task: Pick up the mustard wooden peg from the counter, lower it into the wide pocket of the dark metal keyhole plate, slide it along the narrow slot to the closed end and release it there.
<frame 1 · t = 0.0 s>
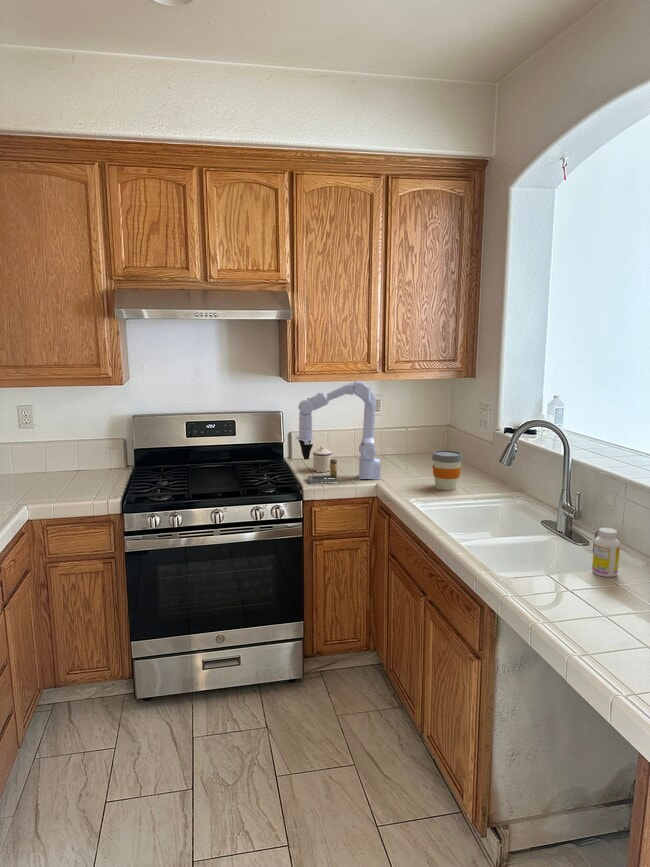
hand: (305, 457, 273), 10 cm above the countertop, tool pointing down, fingers open, 7 cm apart
supplement bottle: (604, 573, 174), on the countertop
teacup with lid: (321, 470, 293), on the countertop
keyhole plate: (323, 481, 272), on the countertop
reusable coffee cup: (445, 487, 263), on the countertop
peg: (333, 477, 279), on the countertop
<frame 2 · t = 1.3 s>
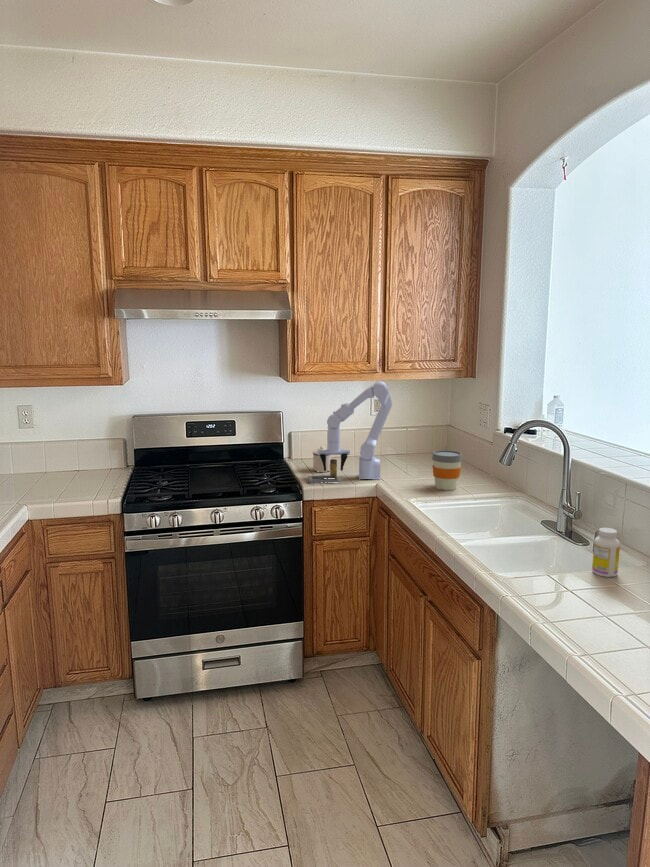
hand: (333, 470, 279), 3 cm above the countertop, tool pointing down, fingers open, 7 cm apart
nothing on the countertop moved.
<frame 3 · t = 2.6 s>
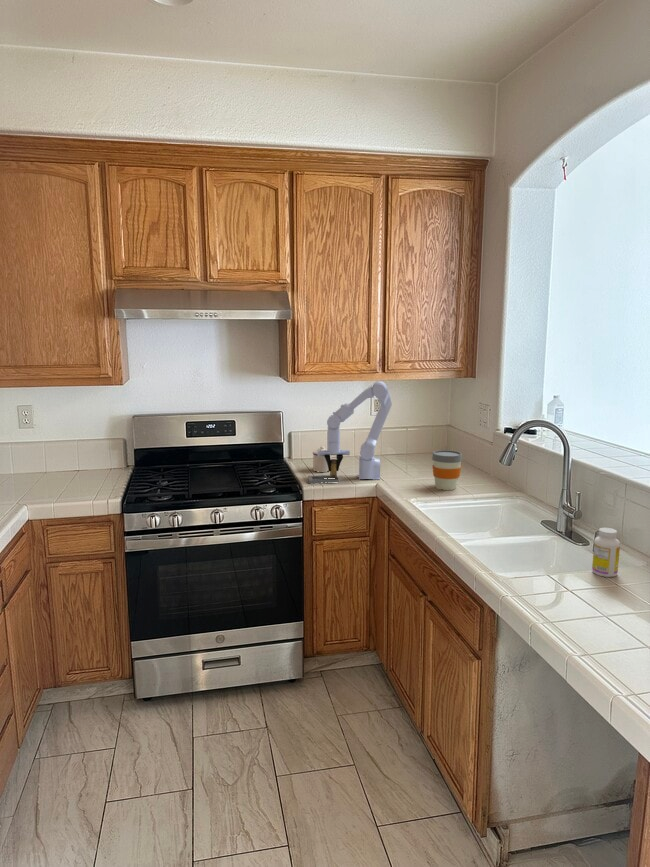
hand: (333, 470, 279), 3 cm above the countertop, tool pointing down, fingers closed on peg, 3 cm apart
peg: (333, 477, 279), on the countertop, touching gripper
everything else where it was.
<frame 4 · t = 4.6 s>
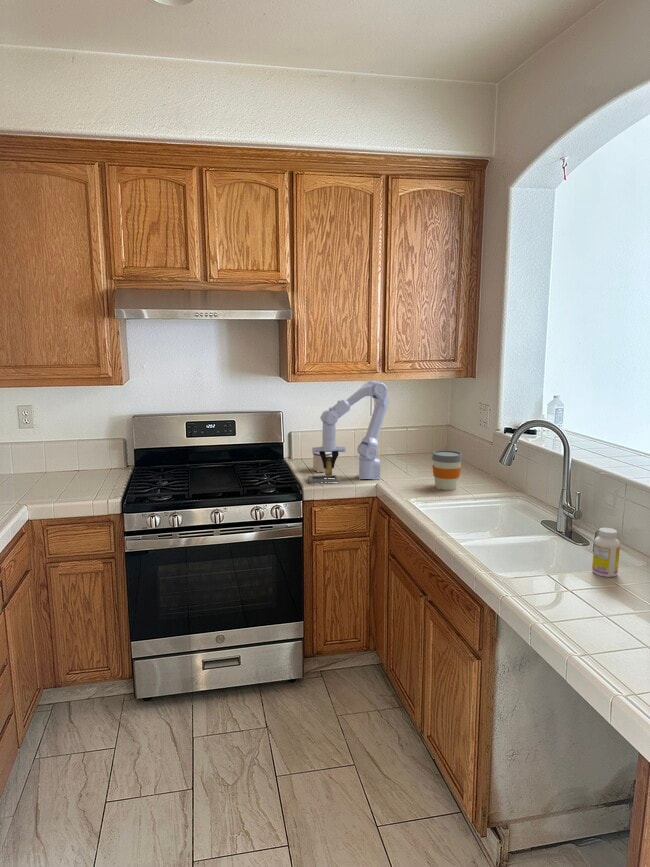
hand: (328, 468, 271), 6 cm above the countertop, tool pointing down, fingers closed on peg, 3 cm apart
peg: (328, 474, 272), point 3 cm above the countertop, touching gripper
everything else where it was.
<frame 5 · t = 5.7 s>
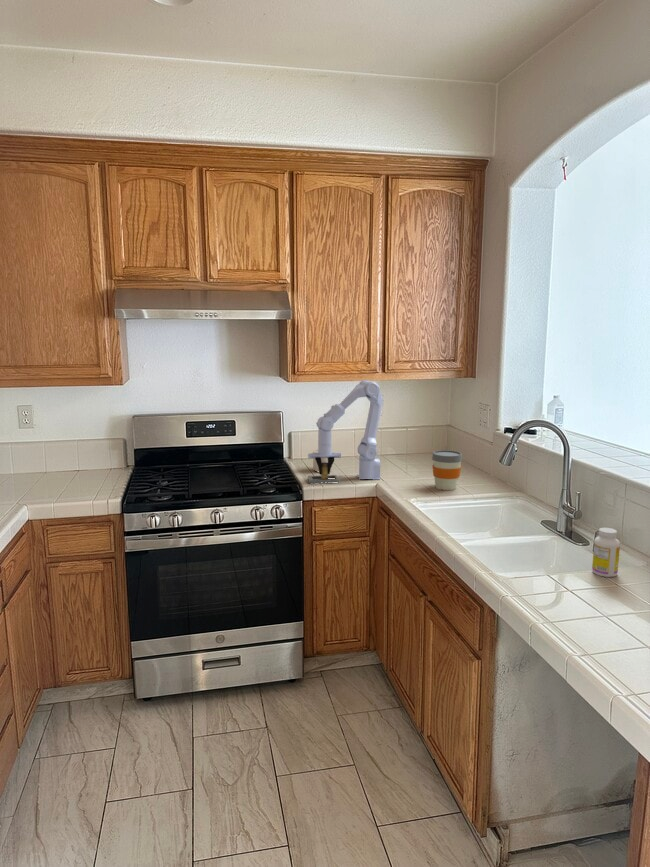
hand: (324, 473, 271), 3 cm above the countertop, tool pointing down, fingers closed on peg, 3 cm apart
peg: (324, 480, 272), resting in keyhole plate, touching gripper
everything else where it was.
when the fingers open (3 cm above the countertop, at t = 6.7 s): peg stays where it is, resting in keyhole plate.
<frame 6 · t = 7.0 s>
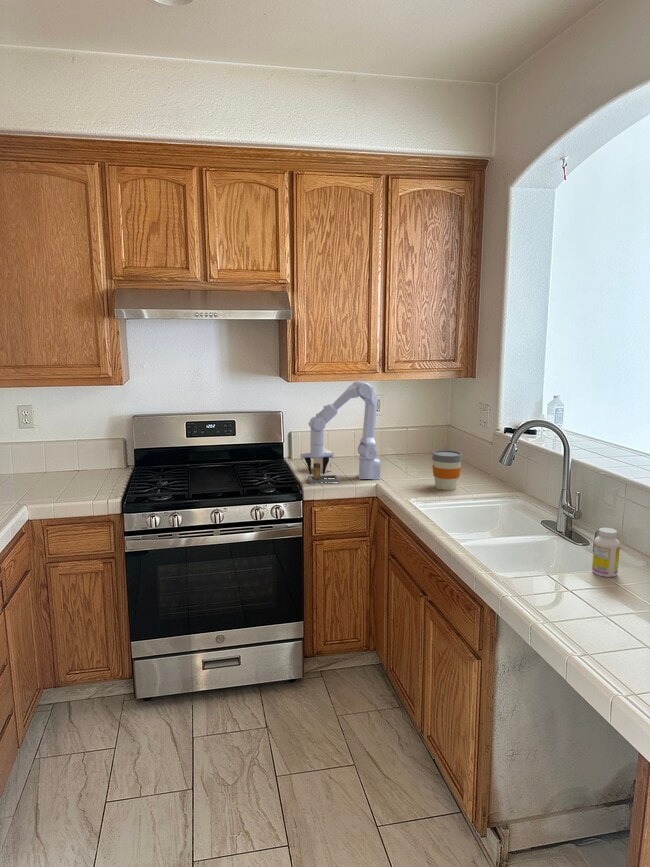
hand: (316, 474, 271), 3 cm above the countertop, tool pointing down, fingers open, 5 cm apart
peg: (316, 481, 272), resting in keyhole plate
everything else where it was.
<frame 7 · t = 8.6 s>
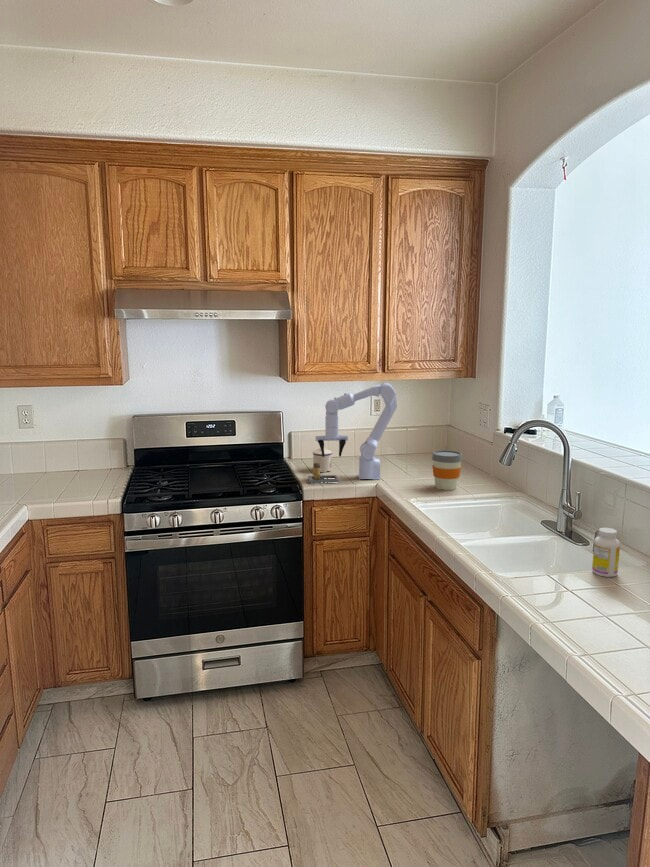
hand: (331, 456, 277), 10 cm above the countertop, tool pointing down, fingers open, 7 cm apart
nothing on the countertop moved.
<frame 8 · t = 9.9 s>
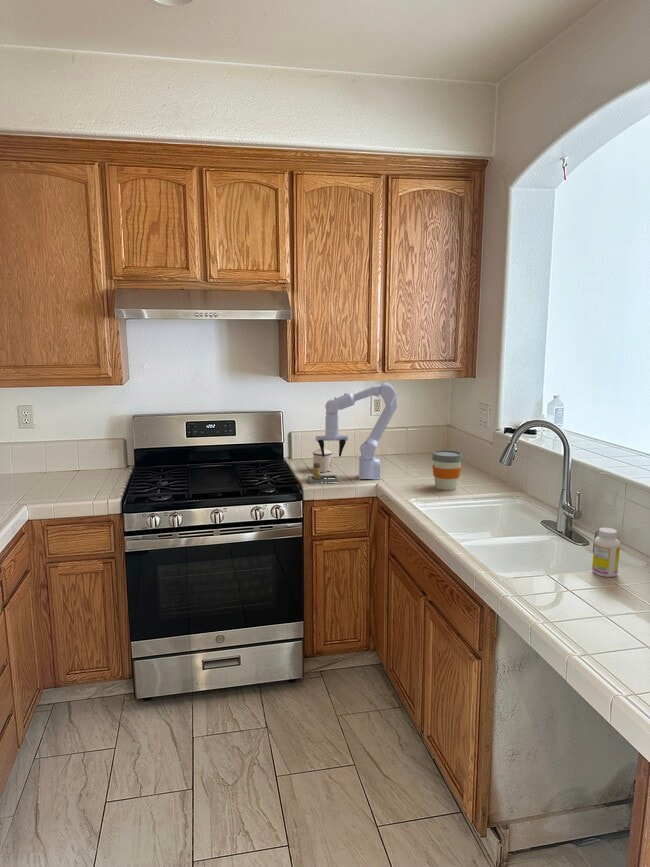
hand: (331, 456, 277), 10 cm above the countertop, tool pointing down, fingers open, 7 cm apart
nothing on the countertop moved.
at the end: peg 0.2 cm from the target spot, resting in keyhole plate; peg tilted 0°; the gripper is holding nothing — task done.
